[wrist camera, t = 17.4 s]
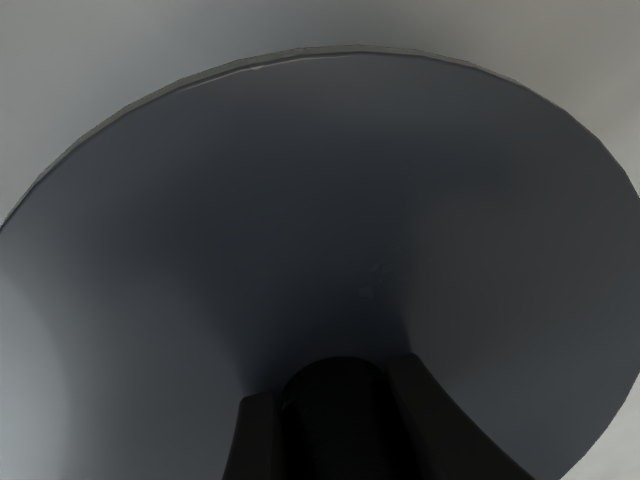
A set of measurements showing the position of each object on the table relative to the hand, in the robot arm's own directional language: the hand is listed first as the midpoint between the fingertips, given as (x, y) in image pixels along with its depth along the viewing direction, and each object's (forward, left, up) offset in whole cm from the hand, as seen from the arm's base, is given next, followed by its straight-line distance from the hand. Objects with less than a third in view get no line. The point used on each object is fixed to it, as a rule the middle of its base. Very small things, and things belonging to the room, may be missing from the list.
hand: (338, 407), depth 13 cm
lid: (0, 0, -1) cm, 1 cm away
